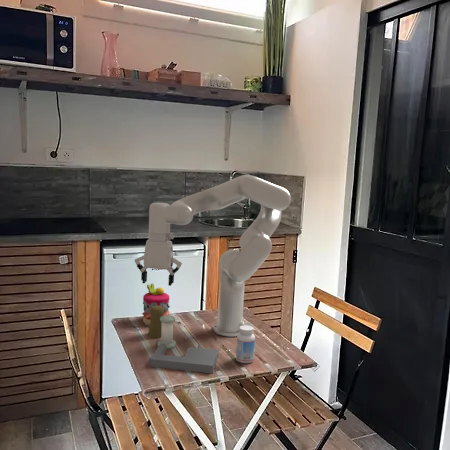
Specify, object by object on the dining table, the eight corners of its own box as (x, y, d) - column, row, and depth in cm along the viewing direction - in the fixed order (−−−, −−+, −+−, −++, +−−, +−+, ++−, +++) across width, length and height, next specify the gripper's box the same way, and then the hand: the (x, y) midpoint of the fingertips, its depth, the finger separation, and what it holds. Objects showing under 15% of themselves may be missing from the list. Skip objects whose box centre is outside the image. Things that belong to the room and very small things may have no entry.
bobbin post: (177, 342, 164) (178, 315, 162) (173, 349, 158) (174, 322, 156) (160, 340, 165) (161, 314, 163) (155, 348, 158) (156, 320, 157)
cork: (161, 339, 166) (162, 310, 164) (145, 337, 167) (146, 308, 166) (166, 333, 172) (167, 304, 170) (151, 331, 173) (152, 303, 171)
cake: (171, 318, 188) (172, 282, 185) (165, 327, 177) (166, 290, 175) (146, 316, 189) (147, 280, 186) (139, 325, 178) (139, 288, 176)
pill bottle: (255, 357, 155) (257, 326, 153) (250, 365, 149) (253, 332, 147) (238, 354, 157) (240, 323, 155) (233, 361, 151) (235, 329, 149)
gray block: (218, 356, 154) (218, 349, 154) (212, 373, 142) (212, 365, 142) (160, 350, 156) (160, 343, 156) (150, 366, 144) (150, 359, 144)
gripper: (185, 237, 167) (182, 283, 169) (139, 233, 169) (137, 278, 171) (180, 241, 159) (178, 288, 162) (132, 237, 161) (131, 284, 164)
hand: (157, 283), depth 167 cm, fingers open, 9 cm apart
